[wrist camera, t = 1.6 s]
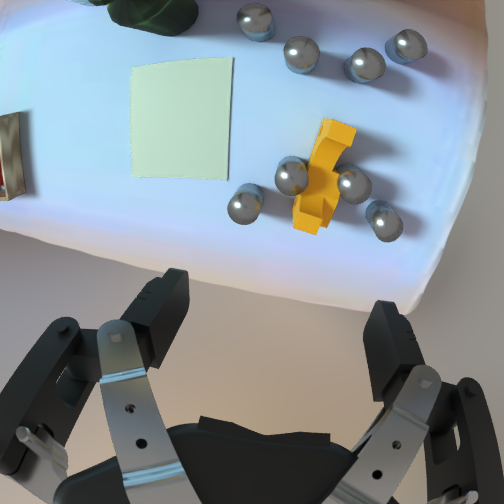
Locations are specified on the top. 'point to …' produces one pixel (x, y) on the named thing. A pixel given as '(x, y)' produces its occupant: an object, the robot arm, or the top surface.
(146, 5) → the potion bottle
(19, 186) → the frame
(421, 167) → the top surface
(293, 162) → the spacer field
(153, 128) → the pad
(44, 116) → the top surface
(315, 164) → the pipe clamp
